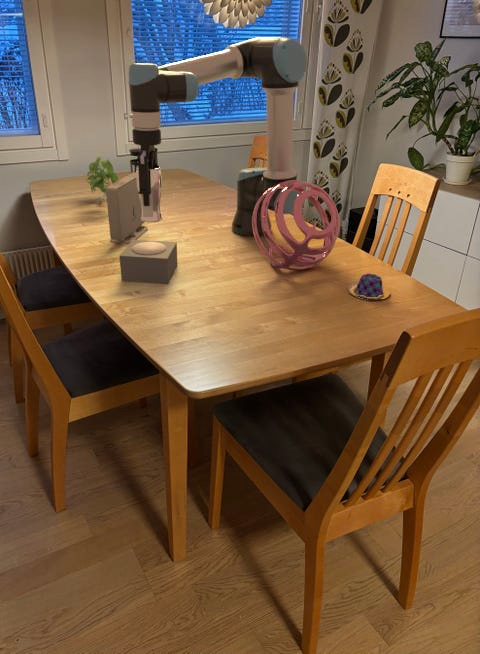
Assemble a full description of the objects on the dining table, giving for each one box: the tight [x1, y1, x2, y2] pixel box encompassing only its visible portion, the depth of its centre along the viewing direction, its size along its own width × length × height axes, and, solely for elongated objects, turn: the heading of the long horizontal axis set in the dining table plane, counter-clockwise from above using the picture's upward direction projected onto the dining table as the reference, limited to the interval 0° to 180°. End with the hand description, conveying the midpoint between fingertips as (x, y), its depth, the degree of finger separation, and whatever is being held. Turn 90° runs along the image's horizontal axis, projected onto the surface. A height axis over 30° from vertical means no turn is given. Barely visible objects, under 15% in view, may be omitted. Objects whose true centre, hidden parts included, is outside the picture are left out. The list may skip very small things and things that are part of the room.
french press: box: [128, 145, 141, 174], centre depth 245 cm, size 12×9×23 cm
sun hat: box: [348, 273, 384, 301], centre depth 149 cm, size 12×12×5 cm
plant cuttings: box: [86, 156, 120, 205], centre depth 220 cm, size 35×17×22 cm
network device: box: [105, 172, 149, 245], centre depth 183 cm, size 26×9×20 cm, turn 168°
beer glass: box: [137, 164, 163, 224], centre depth 145 cm, size 7×7×15 cm
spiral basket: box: [252, 179, 341, 272], centre depth 162 cm, size 28×28×27 cm
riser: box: [119, 239, 178, 285], centre depth 156 cm, size 14×14×8 cm
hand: (150, 212), depth 148 cm, fingers closed on beer glass, 6 cm apart
